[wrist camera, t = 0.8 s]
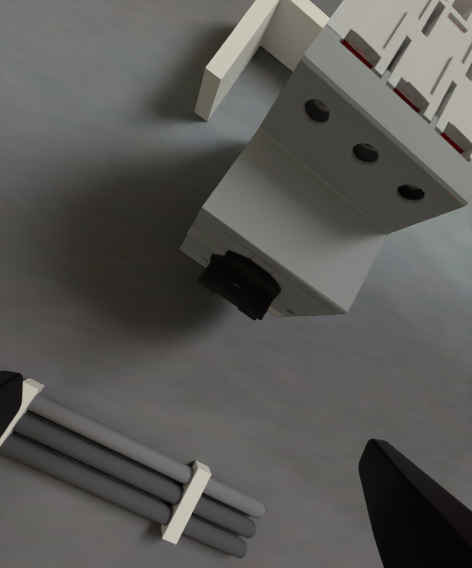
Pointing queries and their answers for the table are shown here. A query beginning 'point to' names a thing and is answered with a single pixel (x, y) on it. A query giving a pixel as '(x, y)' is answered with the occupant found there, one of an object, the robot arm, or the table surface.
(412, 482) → the robot arm
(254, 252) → the circuit breaker
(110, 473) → the dressed cords
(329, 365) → the table surface
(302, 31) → the mounting bay
